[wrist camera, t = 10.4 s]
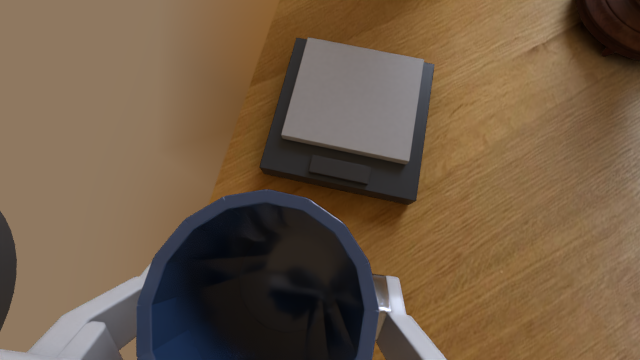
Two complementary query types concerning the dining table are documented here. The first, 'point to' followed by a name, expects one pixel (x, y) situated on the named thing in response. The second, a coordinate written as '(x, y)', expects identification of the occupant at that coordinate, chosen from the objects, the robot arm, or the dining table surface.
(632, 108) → the dining table surface
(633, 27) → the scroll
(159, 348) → the cup
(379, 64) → the scale
